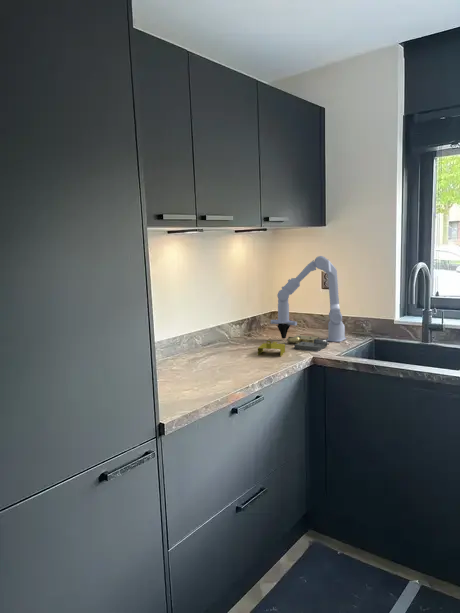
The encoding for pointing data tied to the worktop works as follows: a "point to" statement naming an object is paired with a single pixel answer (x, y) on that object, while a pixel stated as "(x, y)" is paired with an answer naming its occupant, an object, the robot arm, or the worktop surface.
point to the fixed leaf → (312, 345)
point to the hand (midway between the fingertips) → (283, 338)
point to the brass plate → (301, 339)
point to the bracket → (272, 347)
